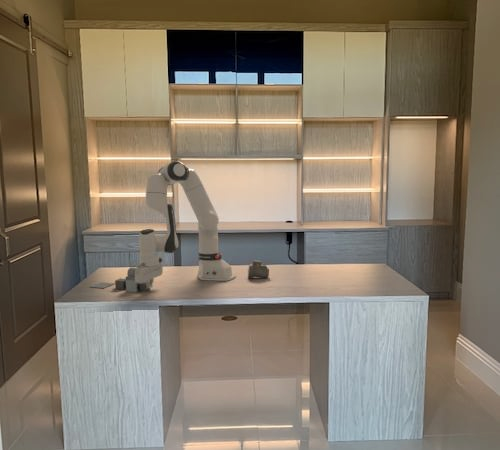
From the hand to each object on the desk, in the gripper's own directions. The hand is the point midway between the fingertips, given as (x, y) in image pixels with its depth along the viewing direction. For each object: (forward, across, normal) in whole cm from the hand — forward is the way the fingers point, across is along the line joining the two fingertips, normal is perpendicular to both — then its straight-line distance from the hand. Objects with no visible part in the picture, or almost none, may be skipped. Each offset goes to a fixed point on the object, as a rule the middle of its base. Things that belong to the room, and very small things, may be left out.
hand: (149, 287), depth 227 cm
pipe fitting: (+2, +43, -44) cm, 61 cm away
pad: (+2, 0, +30) cm, 30 cm away
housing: (+2, 0, +8) cm, 8 cm away
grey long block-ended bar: (+2, 0, +11) cm, 11 cm away
